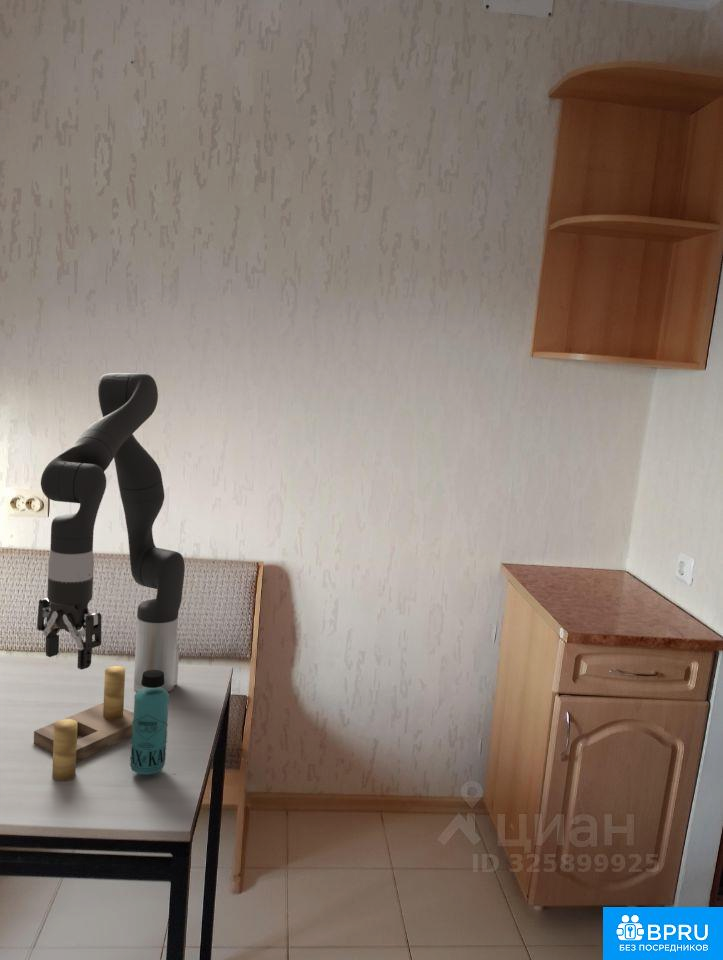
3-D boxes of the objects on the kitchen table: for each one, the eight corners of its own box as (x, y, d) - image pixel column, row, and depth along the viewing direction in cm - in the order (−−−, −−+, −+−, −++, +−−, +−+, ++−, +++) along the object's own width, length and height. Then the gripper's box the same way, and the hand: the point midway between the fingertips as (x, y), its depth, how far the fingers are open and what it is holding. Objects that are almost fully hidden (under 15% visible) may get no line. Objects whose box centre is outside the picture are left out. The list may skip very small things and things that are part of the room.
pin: (65, 767, 148) (67, 717, 146) (80, 774, 146) (82, 723, 144) (47, 775, 144) (49, 724, 143) (62, 783, 142) (63, 731, 141)
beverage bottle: (127, 766, 150) (132, 666, 147) (163, 763, 152) (168, 664, 149) (130, 784, 144) (135, 680, 141) (167, 780, 146) (173, 678, 143)
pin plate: (106, 712, 171) (108, 657, 169) (145, 729, 165) (148, 672, 163) (33, 742, 156) (35, 682, 154) (74, 763, 150) (76, 700, 148)
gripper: (115, 579, 139) (111, 666, 142) (61, 562, 146) (59, 646, 149) (80, 587, 133) (77, 678, 135) (26, 569, 140) (23, 657, 142)
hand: (67, 661), depth 142 cm, fingers open, 8 cm apart
